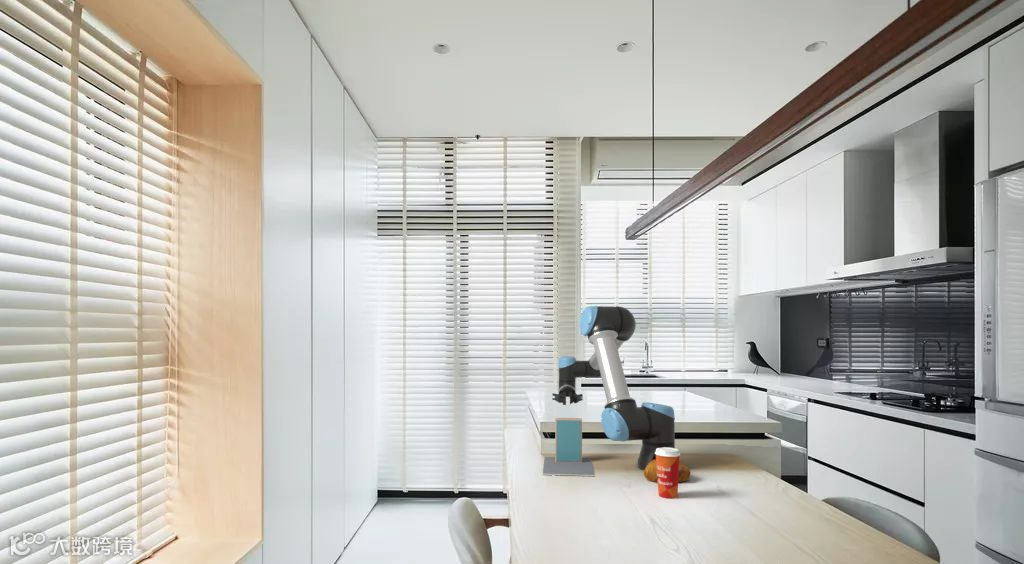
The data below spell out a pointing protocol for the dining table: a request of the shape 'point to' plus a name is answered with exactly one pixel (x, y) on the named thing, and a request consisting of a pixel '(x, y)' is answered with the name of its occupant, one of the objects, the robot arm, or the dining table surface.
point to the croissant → (651, 472)
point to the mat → (568, 467)
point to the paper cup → (667, 471)
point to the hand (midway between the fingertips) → (567, 402)
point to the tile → (568, 440)
